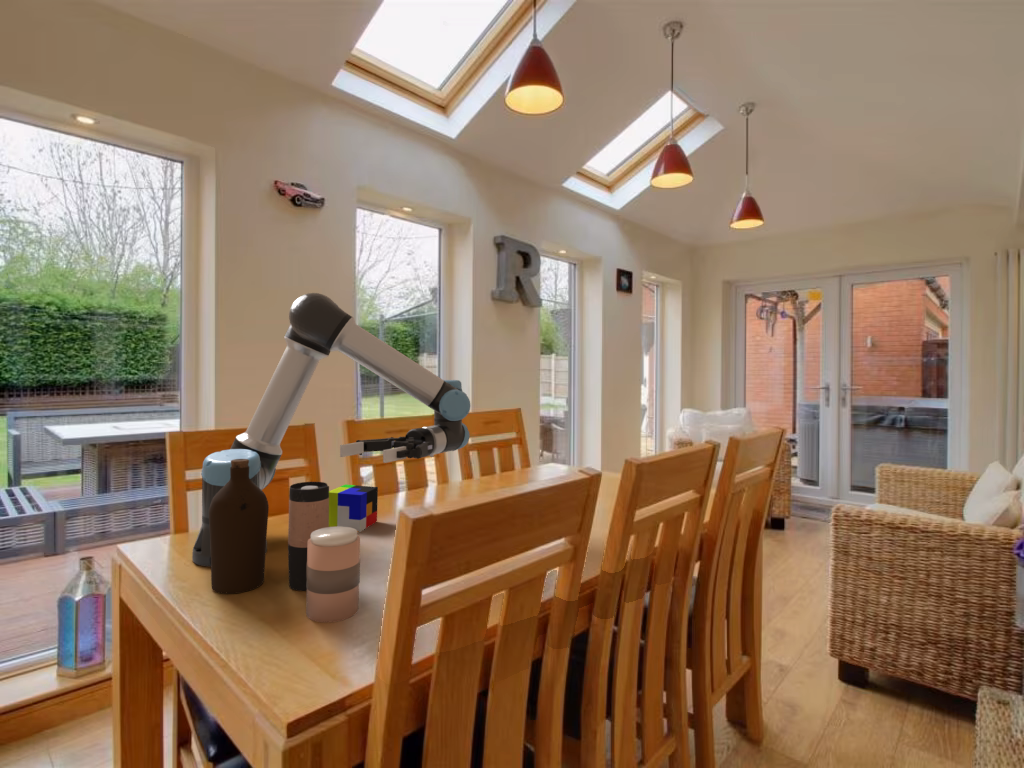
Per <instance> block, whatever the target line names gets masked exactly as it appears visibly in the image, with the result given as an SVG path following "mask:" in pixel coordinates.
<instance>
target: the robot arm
mask: <svg viewBox="0 0 1024 768" xmlns="http://www.w3.org/2000/svg"><path fill="white" fill-rule="evenodd" d="M288 319H289V320H288V321H289V325H288V328H287V331H286V333H285V335H284V337H283V338H284V341H285V343H286V347H285V348H284V349H285V350H284V351H283V354H282V355H281V357H280V360H279V362H278V364H277V366H276V368H275V370H274V372H273V374H272V376H271V378H270V380H269V383H267V387H266V389H265V391H264V393H263V395H262V397H261V400H260V401H259V404H258V405H257V408H256V409H255V411H254V414H253V416H252V417H251V420H250V422H249V424H248V427H247V428H246V430H245V431H244V432H242V433H240V434H237V435H236V436H235V438H234V440H233V443H232V445H231V446H230V449H223V450H220V451H215V452H212V453H210V454H209V455H207V456H206V457H204V460H203V461H202V469H201V477H202V480H201V481H202V482H201V526H200V528H199V531H198V534H197V537H196V540H195V542H194V545H193V547H192V562H193V563H194V564H196V565H198V566H202V567H208V568H209V567H210V568H211V565H210V557H211V550H210V529H209V507H210V504H211V501H212V499H213V497H214V496H215V495H216V494H217V493H218V492H219V491H220V490H221V489H222V488H223V487H224V486H225V485H226V483H227V482H228V481H229V480H230V467H231V460H234V459H248V460H249V463H248V466H249V478H250V480H251V481H252V482H253V483H254V484H255V485H257V486H258V487H259V488H260V489H261V490H262V491H263V490H264V489H265V488H266V487H267V486H269V484H270V483H271V482H272V481H273V479H274V476H275V473H276V470H277V469H276V468H277V465H278V463H279V462H280V459H281V457H282V455H283V450H282V447H281V442H282V441H283V438H284V436H285V434H286V432H287V430H288V428H289V426H290V424H291V421H292V419H293V417H294V415H295V413H296V411H297V408H298V407H299V404H300V402H301V401H302V398H303V396H304V395H305V392H306V390H307V388H308V385H309V384H310V382H311V379H312V377H313V375H314V373H315V371H316V368H317V367H318V364H319V363H320V361H321V360H322V359H325V358H328V357H329V356H330V353H331V352H337V351H338V352H339V353H342V355H344V356H346V357H348V358H349V359H351V360H353V361H354V362H356V363H357V364H359V365H361V366H362V367H364V368H366V369H367V370H369V371H370V372H372V373H374V374H375V375H376V376H378V377H380V378H381V379H383V380H385V381H386V382H389V383H390V384H391V385H392V386H395V387H396V388H397V389H399V390H401V391H403V392H404V393H406V394H407V395H409V396H410V397H412V398H413V399H416V400H417V401H419V402H420V403H422V404H423V405H425V406H427V407H428V408H430V409H431V410H433V412H434V413H433V415H434V418H433V425H429V426H423V427H418V428H412V429H410V430H408V432H406V434H405V436H399V437H394V436H391V437H385V438H373V439H357V440H355V442H352V443H345V444H340V445H339V457H340V458H345V457H350V456H356V455H359V456H363V454H364V453H365V452H368V453H369V452H382V462H383V463H384V464H385V463H386V464H387V463H391V462H395V461H400V460H405V459H407V458H408V459H418V460H419V459H422V458H426V457H431V458H433V457H434V456H435V455H438V454H443V453H447V452H454V451H457V450H461V449H462V448H464V447H465V446H466V445H467V444H468V443H469V441H470V437H471V436H470V431H469V429H468V427H467V425H466V424H465V423H463V419H465V418H466V417H467V416H468V414H469V413H470V410H471V400H470V397H469V396H468V395H467V394H466V393H465V392H464V391H463V389H462V388H463V387H462V382H461V380H458V379H442V378H441V377H439V376H437V375H436V374H435V373H433V372H431V371H430V370H428V369H427V368H425V367H424V366H422V365H420V364H419V363H417V362H416V361H414V360H413V359H411V358H410V357H408V356H407V355H405V354H403V353H402V352H400V351H399V350H397V349H395V348H394V347H392V346H391V345H389V344H388V343H386V342H385V341H383V340H382V339H379V338H378V337H376V336H375V335H373V334H372V333H370V332H369V331H368V330H366V329H364V328H363V327H361V326H360V325H358V324H357V323H356V320H355V317H354V316H352V315H350V314H348V313H347V312H346V311H344V310H343V309H342V308H340V307H339V305H338V304H337V303H336V302H335V301H334V300H333V299H331V298H330V297H328V296H327V295H325V294H322V293H318V292H312V293H311V292H310V293H309V292H308V293H305V294H303V295H301V296H299V297H297V298H296V299H295V300H294V301H293V302H292V304H291V307H290V308H289V313H288ZM267 552H268V541H267V539H266V552H265V555H266V554H267Z"/></svg>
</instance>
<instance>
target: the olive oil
mask: <svg viewBox="0 0 1024 768" xmlns="http://www.w3.org/2000/svg"><path fill="white" fill-rule="evenodd" d="M248 463H249V460H248V459H234V460H231V467H230V480H229V481H228V482H227V483H226V485H225V486H224V487H223V488H222V489H221V490H220V491H219V492H218V493H217V494H216V495H215V496H214V497H213V499H212V501H211V504H210V507H209V529H210V550H211V557H210V565H211V567H210V572H211V573H210V577H211V579H210V581H211V589H212V591H213V592H215V593H218V594H227V595H228V594H230V595H231V594H233V595H234V594H240V593H246V592H249V591H252V590H255V589H257V588H259V587H260V586H261V585H262V584H263V583H264V582H265V571H266V570H265V569H266V554H265V552H266V540H267V535H268V534H267V533H268V521H269V507H270V506H269V501H268V497H267V496H266V494H265V492H264V491H263V489H262V490H261V489H260V488H259V487H258V486H257V485H255V484H254V483H253V482H252V481H251V480H250V478H249V466H248ZM266 553H267V552H266Z"/></svg>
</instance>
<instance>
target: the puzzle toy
mask: <svg viewBox="0 0 1024 768" xmlns="http://www.w3.org/2000/svg"><path fill="white" fill-rule="evenodd" d="M378 487H379V486H369V485H356V484H343V485H341V486H338V487H335V488H334V489H331V490H329V527H336V526H342V527H350V528H354V529H356V530H357V531H359V532H358V533H361V531H362V530H363V531H365V530H366V529H368V528H369V527H368V526H370V525H371V526H373V525H374V524H376V523H377V522H378V499H379V498H378V497H379V496H378V495H379V494H378V492H379V489H378ZM376 521H377V522H376ZM375 522H376V523H375ZM373 523H374V524H373ZM372 524H373V525H372ZM371 526H370V527H371ZM367 527H368V528H367ZM365 528H366V529H365ZM364 529H365V530H364ZM363 531H362V532H363Z"/></svg>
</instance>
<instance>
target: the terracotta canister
mask: <svg viewBox="0 0 1024 768" xmlns="http://www.w3.org/2000/svg"><path fill="white" fill-rule="evenodd" d="M360 552H361V537H360V535H358V532H357V530H356V529H354V528H350V527H342V526H336V527H326V528H321V529H318V530H315V531H314V532H312V533H311V538H310V539H309V540H308V546H307V569H306V588H307V591H306V604H305V605H306V607H305V609H306V612H305V613H306V617H307V618H308V619H310V620H311V621H314V622H317V623H333V622H334V623H336V622H341V621H344V620H347V619H349V618H351V617H353V616H355V615H356V614H357V613H358V612H359V609H360V608H359V604H360V583H361V582H360V581H361V558H360V557H361V556H360V555H361V553H360Z"/></svg>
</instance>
